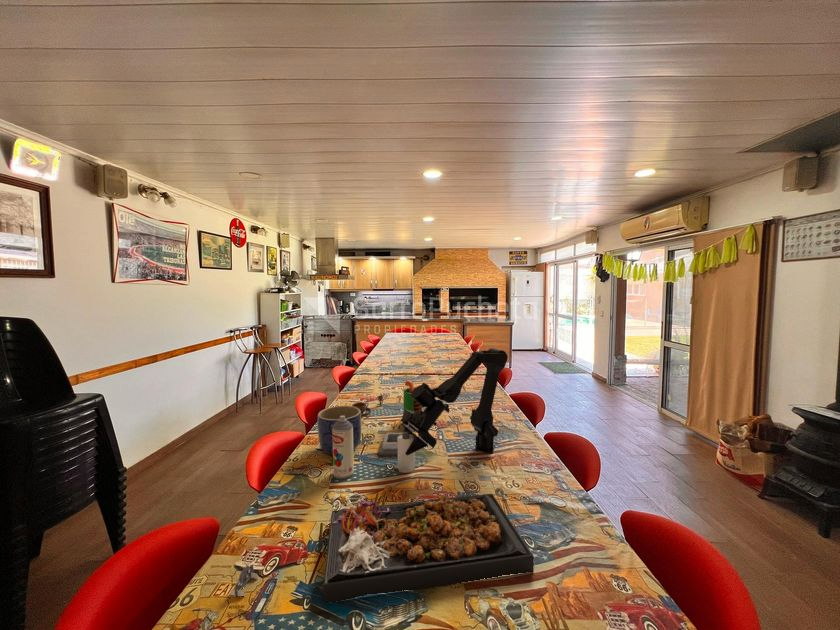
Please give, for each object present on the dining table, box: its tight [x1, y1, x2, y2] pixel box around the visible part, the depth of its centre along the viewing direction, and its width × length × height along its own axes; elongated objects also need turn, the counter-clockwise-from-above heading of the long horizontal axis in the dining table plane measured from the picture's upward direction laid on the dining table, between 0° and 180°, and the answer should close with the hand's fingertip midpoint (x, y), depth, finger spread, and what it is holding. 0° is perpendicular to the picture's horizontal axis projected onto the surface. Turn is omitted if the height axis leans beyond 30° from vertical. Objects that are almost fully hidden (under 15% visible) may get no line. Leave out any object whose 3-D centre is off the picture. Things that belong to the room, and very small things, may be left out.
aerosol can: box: [332, 416, 355, 480], centre depth 121 cm, size 7×7×20 cm
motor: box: [402, 380, 423, 425], centre depth 166 cm, size 10×9×20 cm
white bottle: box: [397, 432, 416, 474], centre depth 124 cm, size 6×6×13 cm
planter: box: [317, 405, 362, 456], centre depth 140 cm, size 16×16×15 cm
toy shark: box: [229, 564, 259, 599], centre depth 79 cm, size 15×7×4 cm, turn 172°
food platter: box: [322, 489, 535, 604], centre depth 87 cm, size 45×25×10 cm, turn 100°
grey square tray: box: [378, 432, 403, 457], centre depth 141 cm, size 13×13×4 cm
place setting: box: [351, 395, 384, 419], centre depth 183 cm, size 18×20×6 cm
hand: (402, 450), depth 124 cm, fingers closed on white bottle, 6 cm apart
